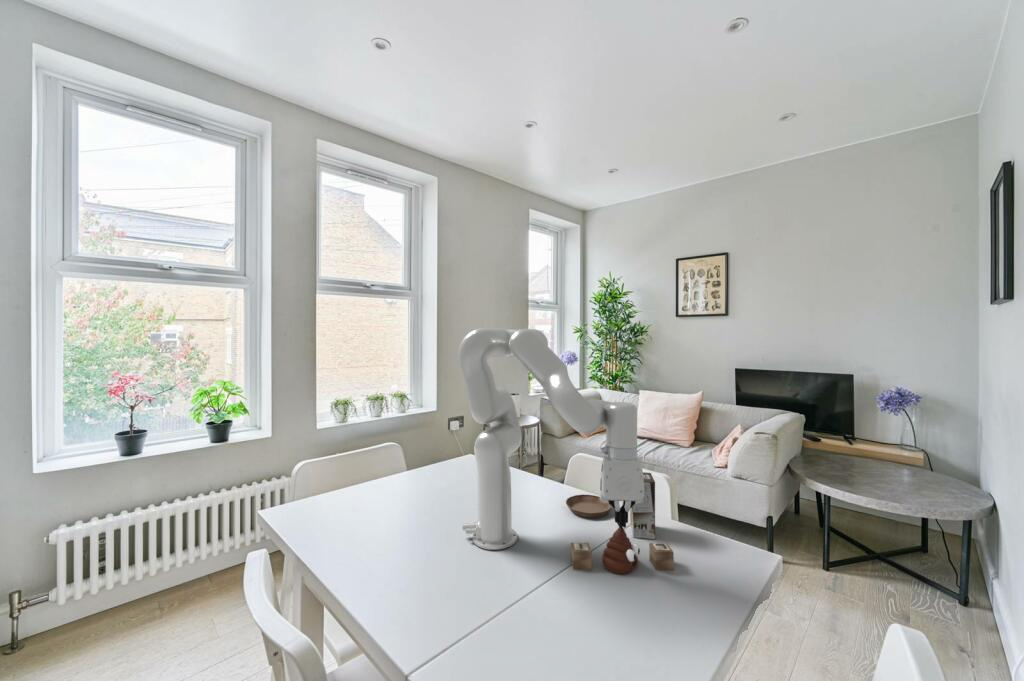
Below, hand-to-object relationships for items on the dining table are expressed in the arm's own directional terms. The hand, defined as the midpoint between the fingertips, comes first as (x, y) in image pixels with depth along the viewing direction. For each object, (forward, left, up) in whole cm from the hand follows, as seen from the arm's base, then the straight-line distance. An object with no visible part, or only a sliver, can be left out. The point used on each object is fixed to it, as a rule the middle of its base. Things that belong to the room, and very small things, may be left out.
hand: (621, 525), depth 104 cm
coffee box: (+10, +18, -10) cm, 23 cm away
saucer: (-3, +33, -10) cm, 35 cm away
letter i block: (-10, 0, -10) cm, 14 cm away
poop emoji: (0, 0, -10) cm, 10 cm away
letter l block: (+10, 0, -10) cm, 14 cm away
